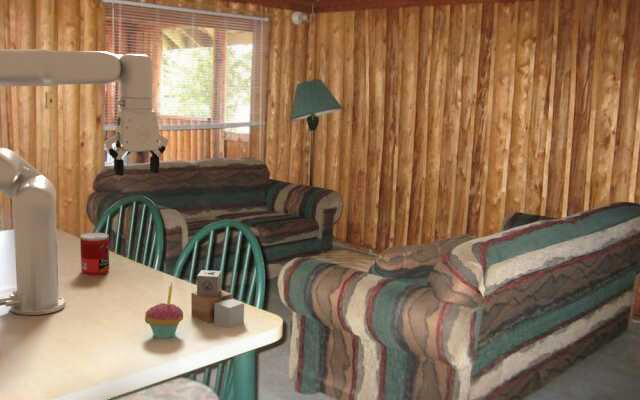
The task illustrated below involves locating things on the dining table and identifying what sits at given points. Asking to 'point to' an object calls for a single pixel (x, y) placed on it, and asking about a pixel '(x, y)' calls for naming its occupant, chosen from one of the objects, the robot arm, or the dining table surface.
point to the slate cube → (229, 313)
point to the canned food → (94, 253)
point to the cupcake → (164, 318)
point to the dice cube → (209, 283)
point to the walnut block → (206, 305)
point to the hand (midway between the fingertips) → (137, 173)
